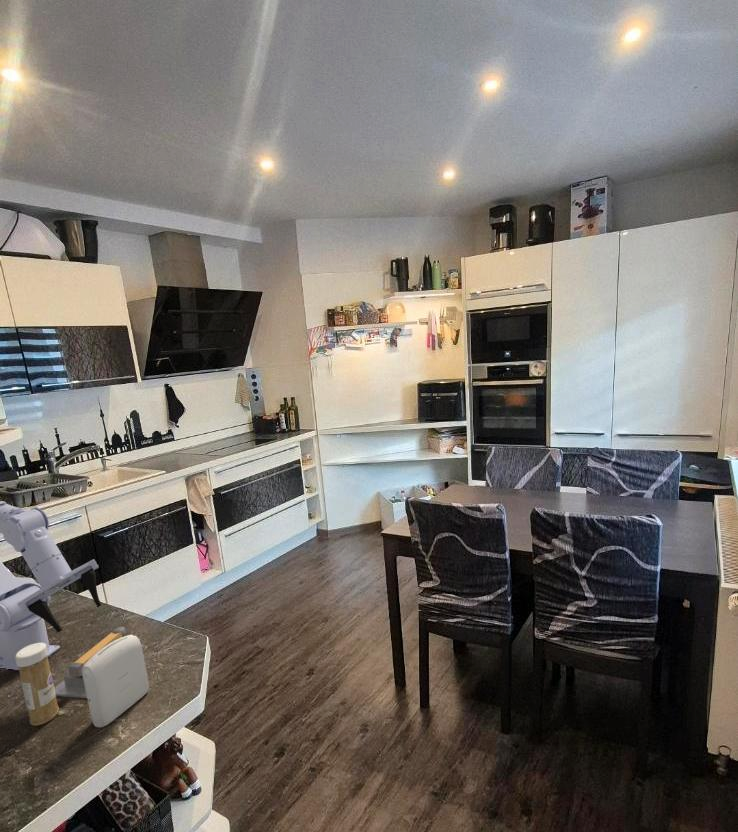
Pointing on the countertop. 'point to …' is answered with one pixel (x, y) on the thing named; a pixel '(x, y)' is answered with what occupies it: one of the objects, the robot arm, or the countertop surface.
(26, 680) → the sprinkles bottle
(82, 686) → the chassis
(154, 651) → the countertop surface
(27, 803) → the countertop surface
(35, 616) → the robot arm
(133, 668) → the photo printer
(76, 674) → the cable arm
